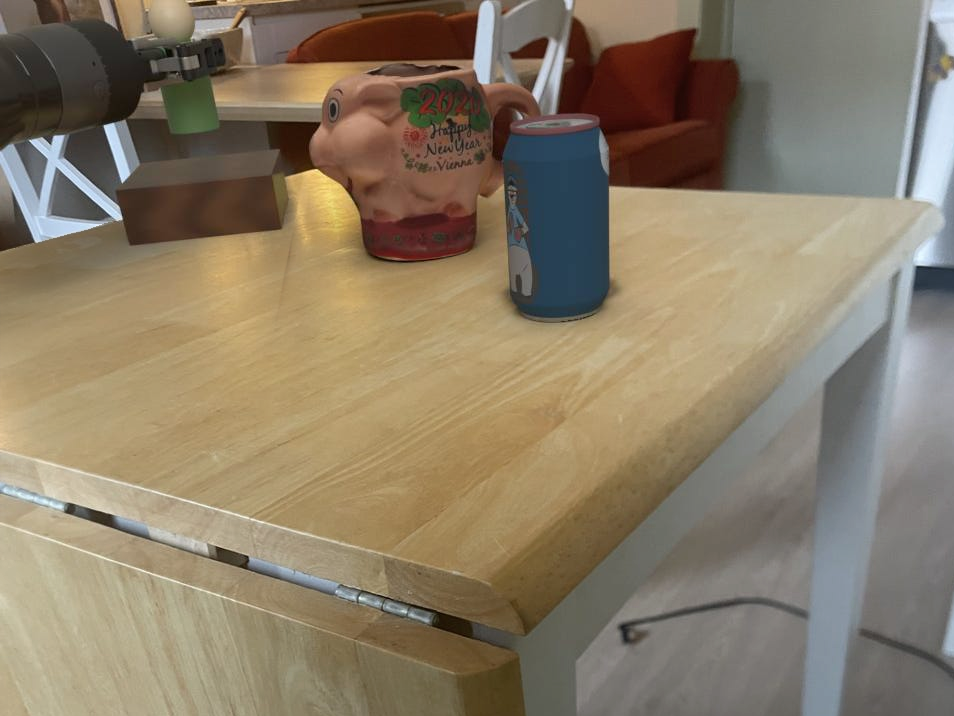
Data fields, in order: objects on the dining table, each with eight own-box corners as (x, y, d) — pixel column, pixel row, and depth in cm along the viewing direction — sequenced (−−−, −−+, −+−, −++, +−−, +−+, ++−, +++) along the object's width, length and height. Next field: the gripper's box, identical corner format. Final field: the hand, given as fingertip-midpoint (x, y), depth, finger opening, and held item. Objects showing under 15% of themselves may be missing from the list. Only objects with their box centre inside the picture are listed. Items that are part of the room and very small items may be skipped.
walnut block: (133, 259, 93) (114, 190, 90) (156, 225, 105) (140, 163, 101) (284, 243, 94) (271, 174, 91) (290, 211, 105) (279, 148, 102)
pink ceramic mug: (512, 214, 96) (503, 47, 88) (571, 239, 87) (566, 54, 79) (311, 250, 91) (282, 75, 83) (350, 281, 81) (321, 86, 73)
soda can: (623, 297, 72) (624, 111, 65) (588, 328, 67) (585, 130, 60) (534, 292, 75) (526, 112, 68) (495, 321, 70) (482, 130, 63)
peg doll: (167, 136, 92) (134, -4, 86) (174, 129, 96) (143, -6, 90) (217, 130, 92) (188, -9, 86) (222, 124, 96) (195, -11, 90)
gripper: (124, 17, 75) (253, -1, 88) (-15, 28, 81) (125, 10, 93) (151, 128, 80) (270, 96, 92) (17, 132, 85) (147, 101, 97)
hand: (197, 52), depth 93 cm, fingers closed on peg doll, 4 cm apart
